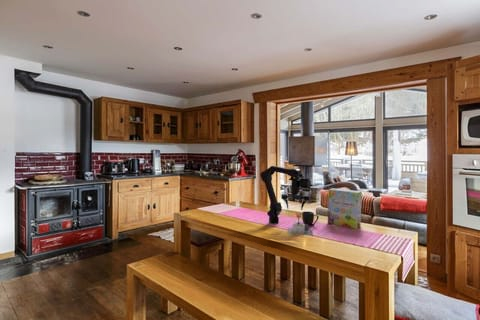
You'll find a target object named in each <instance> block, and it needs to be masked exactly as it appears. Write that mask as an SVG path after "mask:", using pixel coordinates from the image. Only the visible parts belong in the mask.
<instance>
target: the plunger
mask: <svg viewBox="0 0 480 320" xmlns="http://www.w3.org/2000/svg"><path fill="white" fill-rule="evenodd" d="M295 216H296V218H297V222H298V224H299V222H300V218H302V213H300V212H296V214H295Z"/></svg>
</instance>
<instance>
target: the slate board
mask: <svg viewBox="0 0 480 320" xmlns="http://www.w3.org/2000/svg"><path fill="white" fill-rule="evenodd" d="M286 234H287V235H301V236H309V237H310V236H314V233H313V229H308V231H304V233H295V232H292V227H291V228H290V227H288V228H287V231H286Z"/></svg>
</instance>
